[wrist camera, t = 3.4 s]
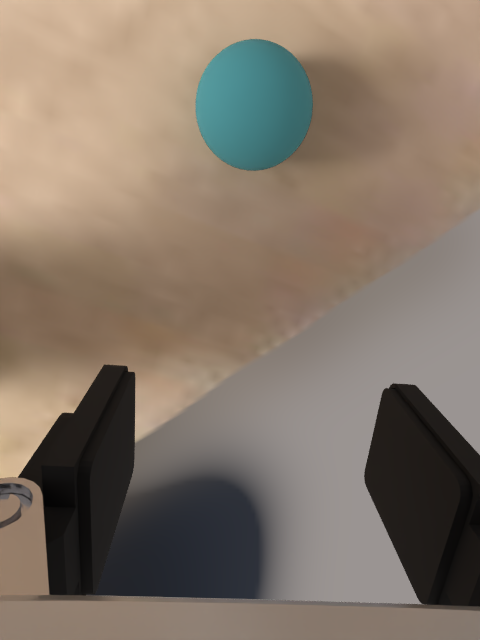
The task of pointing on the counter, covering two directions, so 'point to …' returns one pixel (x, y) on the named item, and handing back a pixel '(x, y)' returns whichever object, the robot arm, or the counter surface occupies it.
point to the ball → (254, 104)
